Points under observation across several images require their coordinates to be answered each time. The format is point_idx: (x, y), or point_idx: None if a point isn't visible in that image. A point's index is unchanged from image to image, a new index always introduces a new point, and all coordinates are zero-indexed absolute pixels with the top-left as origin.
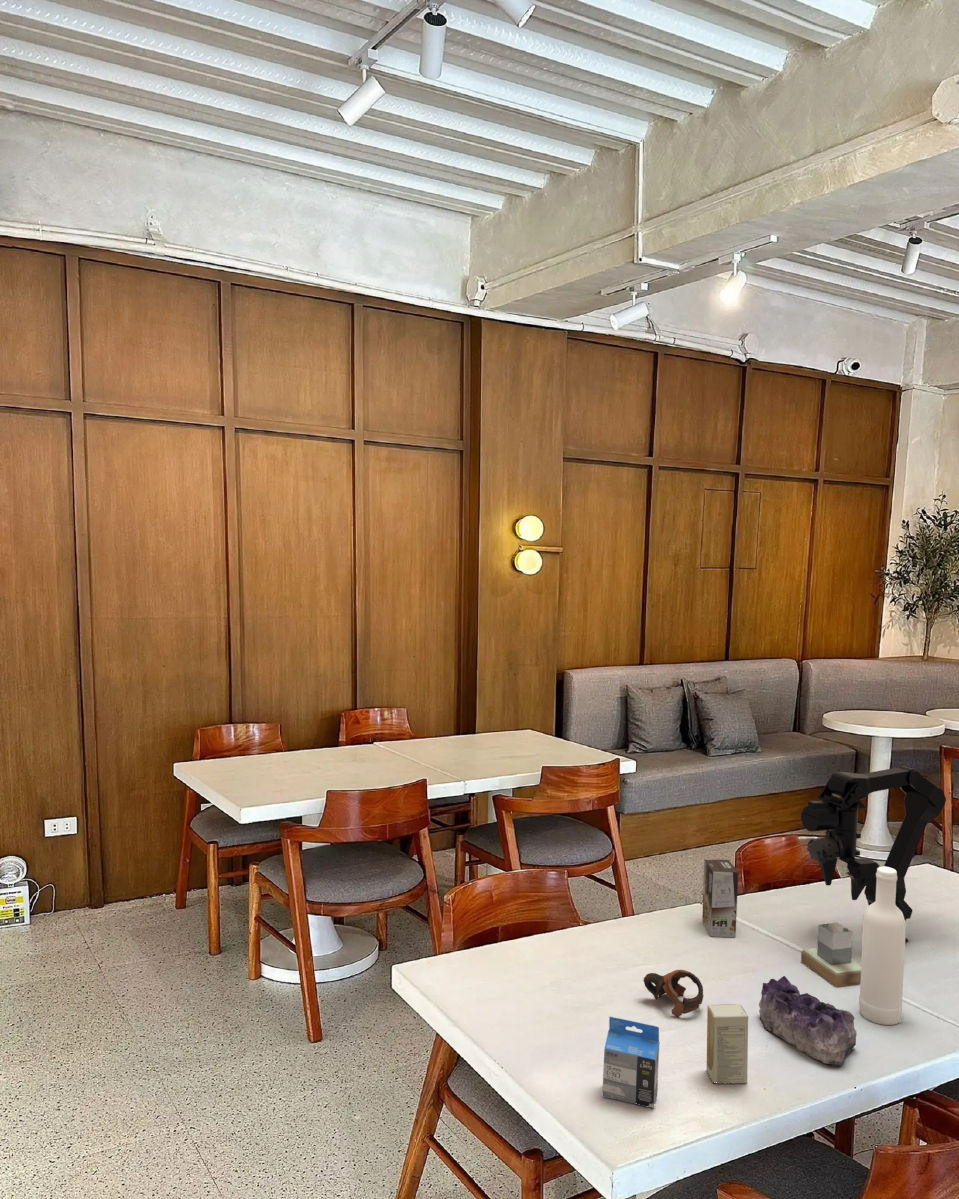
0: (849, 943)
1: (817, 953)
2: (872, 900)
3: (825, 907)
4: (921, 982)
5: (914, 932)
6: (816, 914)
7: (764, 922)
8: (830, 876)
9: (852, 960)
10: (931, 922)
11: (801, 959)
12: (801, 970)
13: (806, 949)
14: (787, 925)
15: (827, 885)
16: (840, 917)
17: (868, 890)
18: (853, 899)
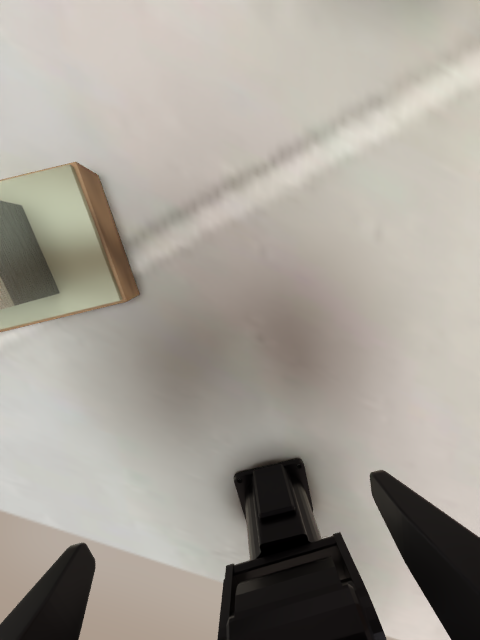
0: None
1: (15, 204)
2: (299, 582)
3: (472, 417)
4: (21, 467)
5: None
6: (437, 376)
7: (417, 177)
8: (427, 579)
9: (1, 325)
10: None
11: (92, 172)
12: (29, 145)
13: (71, 181)
14: (381, 253)
15: (370, 475)
16: (405, 430)
17: (338, 625)
18: (67, 553)
